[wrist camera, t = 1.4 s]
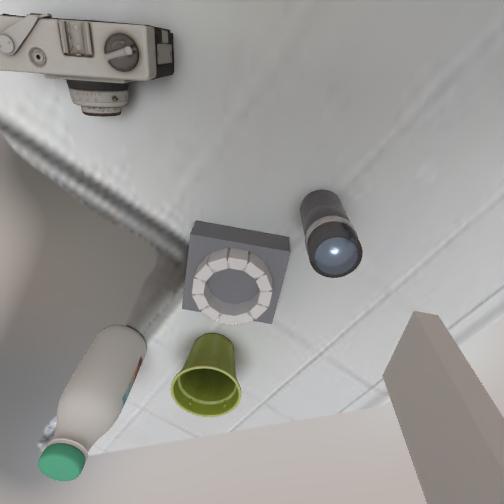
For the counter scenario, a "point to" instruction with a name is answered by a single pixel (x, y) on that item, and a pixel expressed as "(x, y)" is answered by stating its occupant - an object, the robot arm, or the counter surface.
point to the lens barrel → (329, 235)
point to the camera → (87, 56)
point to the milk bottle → (93, 400)
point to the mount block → (234, 273)
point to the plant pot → (208, 378)
